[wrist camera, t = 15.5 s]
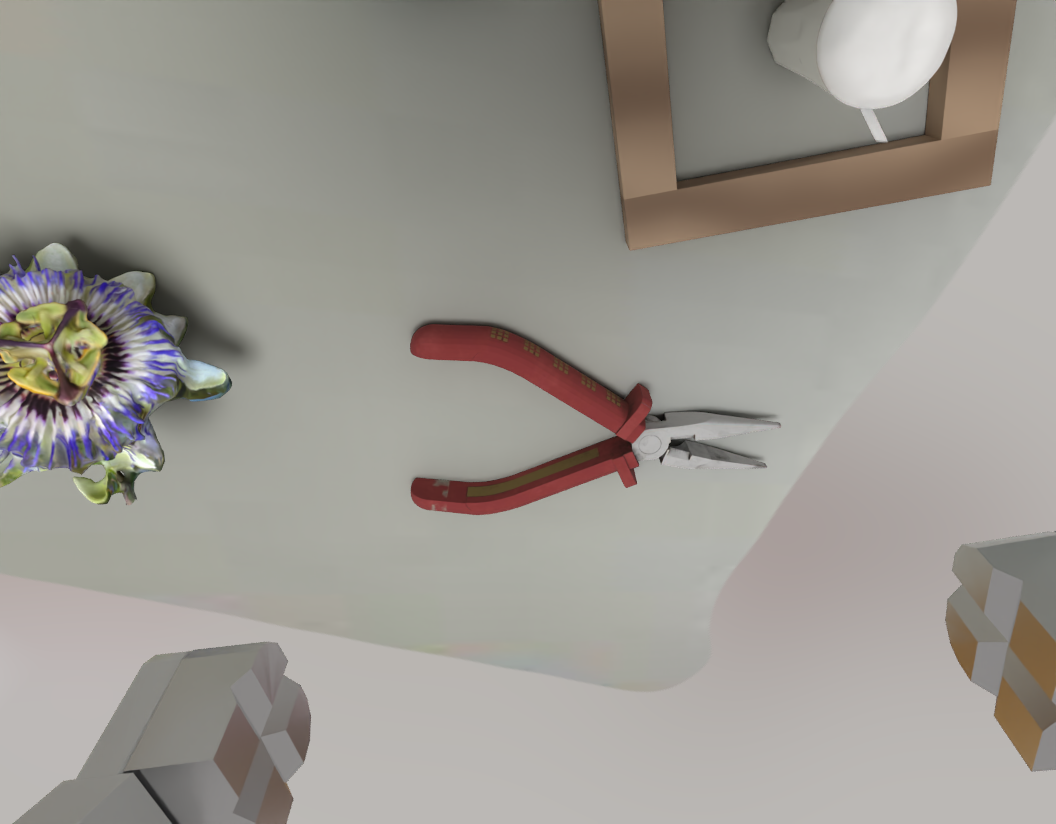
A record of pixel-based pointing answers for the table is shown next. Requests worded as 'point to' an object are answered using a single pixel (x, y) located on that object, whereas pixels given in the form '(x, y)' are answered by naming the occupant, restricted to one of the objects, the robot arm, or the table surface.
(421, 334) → the pliers
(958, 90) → the wooden frame
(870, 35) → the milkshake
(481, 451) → the table surface
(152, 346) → the passion flower
